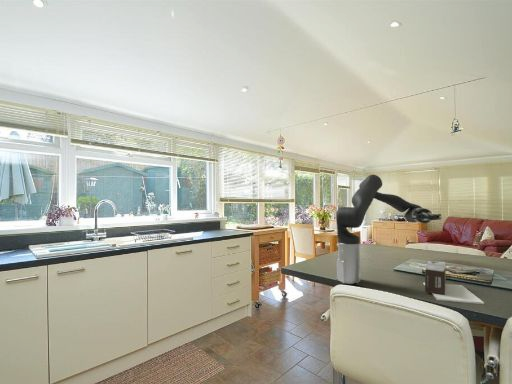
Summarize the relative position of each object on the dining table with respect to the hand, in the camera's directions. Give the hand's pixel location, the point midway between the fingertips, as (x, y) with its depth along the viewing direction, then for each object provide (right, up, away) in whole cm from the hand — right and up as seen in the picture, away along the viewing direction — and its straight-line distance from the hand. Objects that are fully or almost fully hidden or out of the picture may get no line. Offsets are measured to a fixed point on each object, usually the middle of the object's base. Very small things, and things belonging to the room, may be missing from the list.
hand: (432, 217), depth 122 cm
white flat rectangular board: (-6, -27, -19) cm, 34 cm away
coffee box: (-4, -22, -8) cm, 24 cm away
